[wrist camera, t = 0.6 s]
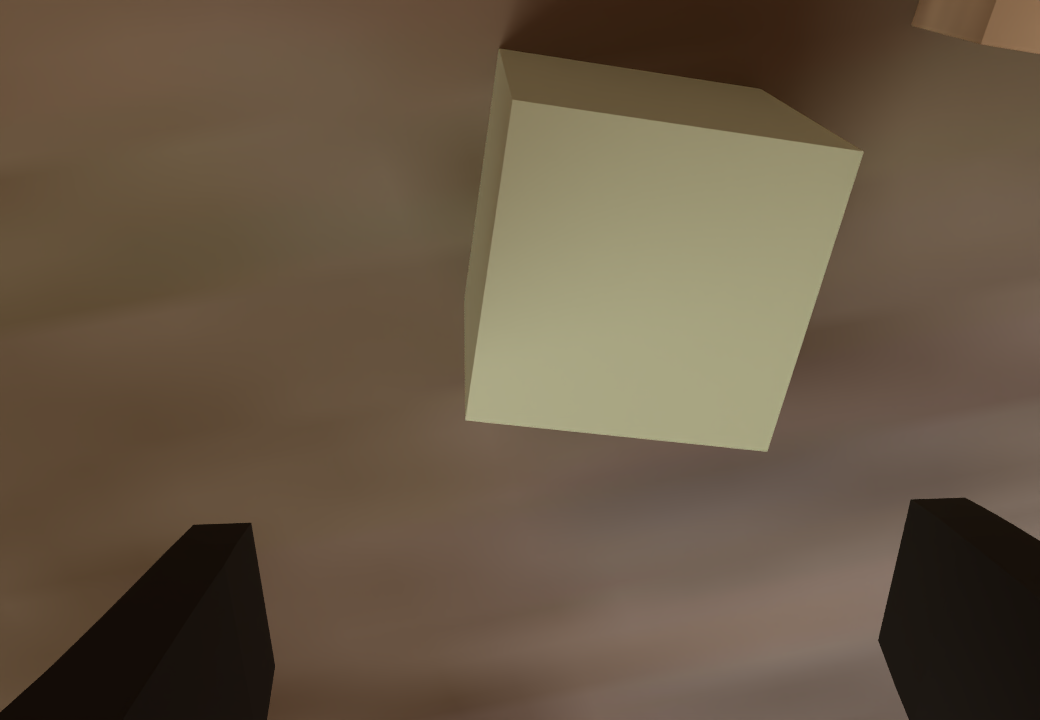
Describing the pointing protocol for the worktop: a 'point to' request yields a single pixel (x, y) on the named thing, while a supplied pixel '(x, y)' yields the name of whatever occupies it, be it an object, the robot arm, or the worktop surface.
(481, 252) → the sage block
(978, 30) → the birch base block
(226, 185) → the worktop surface
